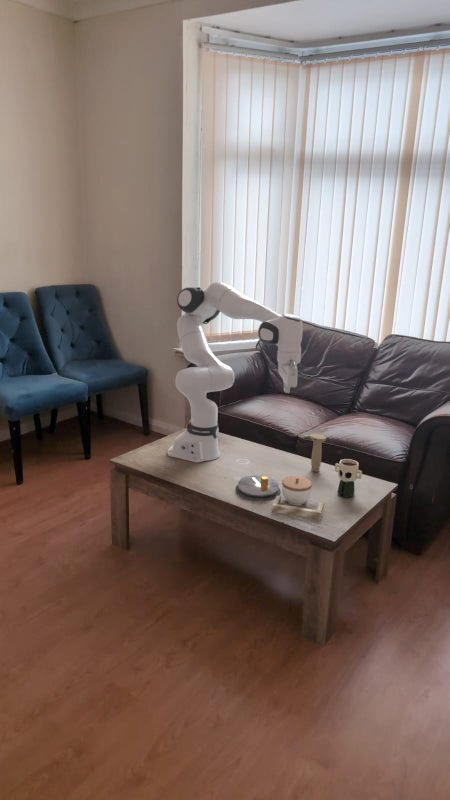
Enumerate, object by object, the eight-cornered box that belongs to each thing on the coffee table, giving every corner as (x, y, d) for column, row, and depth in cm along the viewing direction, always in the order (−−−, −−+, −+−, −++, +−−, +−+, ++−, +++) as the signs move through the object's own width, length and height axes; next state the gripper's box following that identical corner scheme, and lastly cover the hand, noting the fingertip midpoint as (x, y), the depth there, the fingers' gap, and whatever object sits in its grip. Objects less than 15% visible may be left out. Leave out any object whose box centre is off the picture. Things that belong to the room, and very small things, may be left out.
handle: (319, 474, 248) (322, 439, 244) (305, 470, 252) (308, 435, 247) (325, 471, 252) (328, 436, 247) (311, 466, 255) (314, 432, 251)
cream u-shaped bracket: (272, 511, 217) (272, 505, 216) (276, 501, 224) (276, 495, 223) (320, 519, 212) (320, 513, 212) (323, 509, 220) (323, 502, 219)
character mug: (328, 493, 232) (331, 461, 228) (337, 487, 238) (340, 455, 234) (354, 502, 226) (358, 469, 222) (363, 495, 231) (366, 463, 227)
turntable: (232, 482, 237) (233, 465, 234) (268, 478, 241) (269, 462, 239) (246, 499, 223) (247, 482, 221) (284, 495, 228) (285, 477, 226)
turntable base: (230, 496, 227) (230, 495, 227) (241, 478, 242) (241, 477, 242) (275, 503, 222) (275, 503, 222) (284, 484, 238) (284, 483, 238)
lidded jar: (280, 506, 220) (281, 482, 218) (281, 493, 231) (283, 470, 228) (310, 509, 219) (312, 485, 216) (310, 496, 229) (312, 473, 226)
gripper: (302, 364, 225) (300, 400, 230) (292, 351, 245) (289, 384, 249) (285, 364, 225) (283, 400, 229) (276, 350, 244) (274, 384, 248)
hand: (286, 391), depth 239 cm, fingers closed
